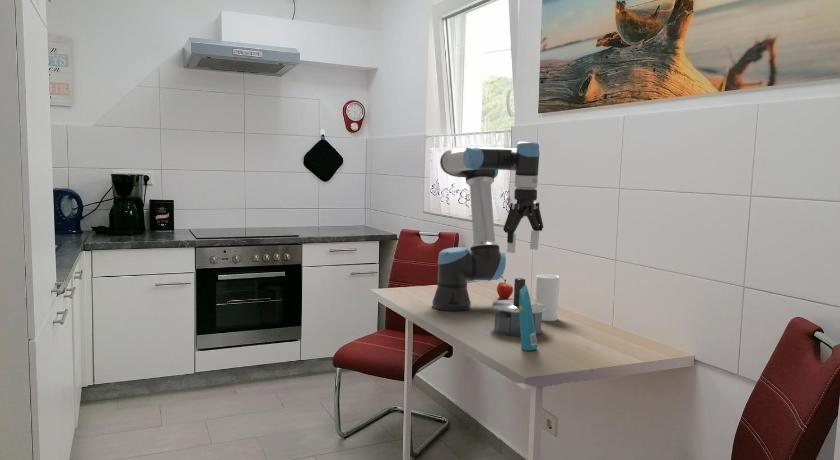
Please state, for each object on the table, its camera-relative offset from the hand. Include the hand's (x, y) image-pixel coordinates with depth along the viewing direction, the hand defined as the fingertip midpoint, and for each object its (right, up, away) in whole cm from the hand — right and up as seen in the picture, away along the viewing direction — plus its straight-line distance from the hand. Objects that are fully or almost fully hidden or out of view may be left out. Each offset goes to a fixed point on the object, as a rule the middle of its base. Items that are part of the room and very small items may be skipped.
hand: (522, 250), depth 210 cm
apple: (+1, -22, +53) cm, 57 cm away
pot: (-2, -27, +1) cm, 27 cm away
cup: (+12, -26, +20) cm, 35 cm away
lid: (-1, -19, 0) cm, 19 cm away
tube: (-1, -29, -21) cm, 36 cm away
